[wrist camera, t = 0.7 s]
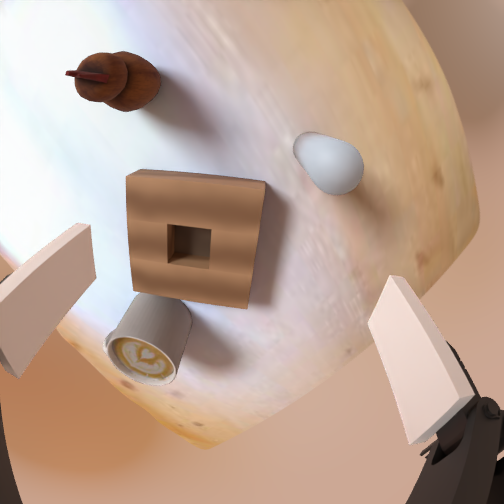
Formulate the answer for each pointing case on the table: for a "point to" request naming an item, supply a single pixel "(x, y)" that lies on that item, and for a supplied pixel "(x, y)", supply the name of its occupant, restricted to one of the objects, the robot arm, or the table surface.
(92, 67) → the wooden figurine
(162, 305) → the coffee mug
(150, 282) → the bore block
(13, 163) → the table surface
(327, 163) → the peg
